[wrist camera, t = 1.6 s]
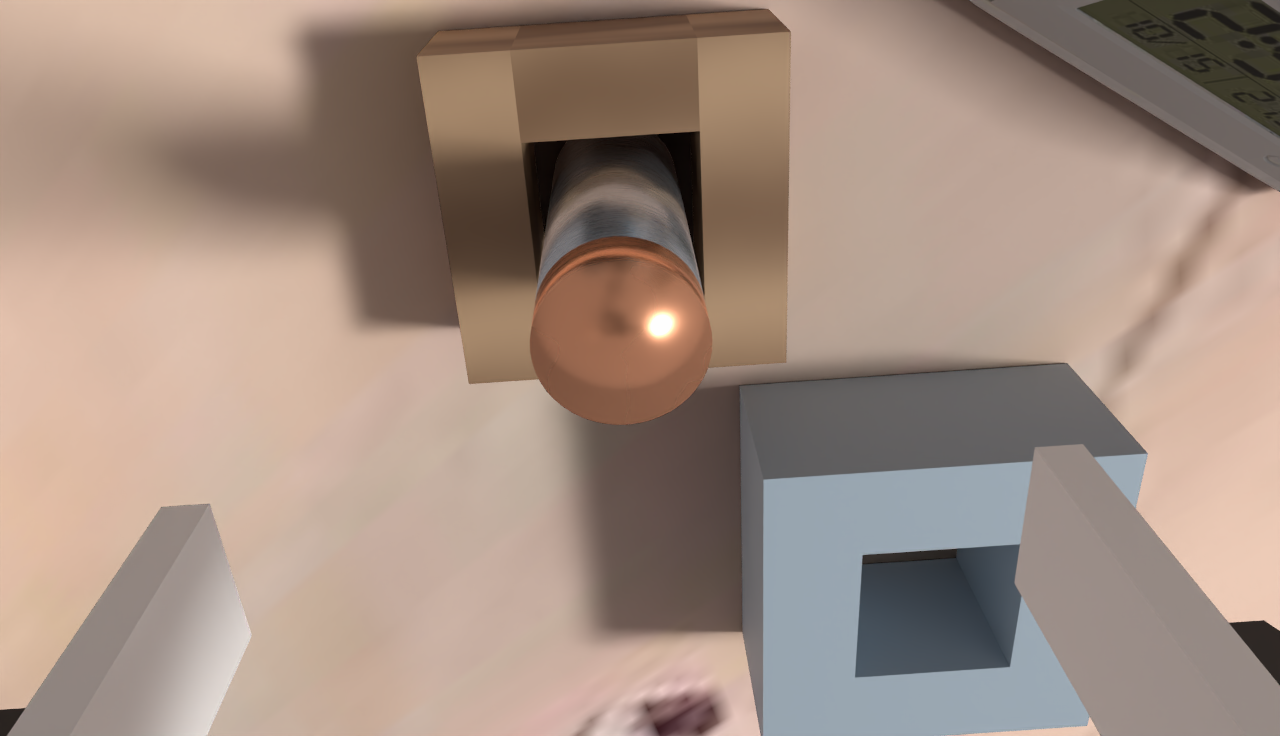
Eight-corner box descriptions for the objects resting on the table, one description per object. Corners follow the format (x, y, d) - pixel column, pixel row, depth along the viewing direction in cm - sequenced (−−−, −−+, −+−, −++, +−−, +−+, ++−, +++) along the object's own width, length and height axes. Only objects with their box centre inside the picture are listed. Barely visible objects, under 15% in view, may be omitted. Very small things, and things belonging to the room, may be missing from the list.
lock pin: (547, 123, 31) (519, 268, 21) (673, 114, 31) (710, 255, 21) (559, 241, 33) (539, 430, 22) (678, 233, 33) (714, 418, 22)
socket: (740, 385, 36) (763, 479, 31) (1067, 363, 36) (1147, 453, 31) (742, 632, 42) (763, 747, 36) (1025, 613, 42) (1087, 725, 36)
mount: (438, 31, 30) (416, 56, 26) (768, 8, 30) (790, 31, 26) (482, 328, 34) (469, 383, 31) (767, 309, 34) (786, 362, 31)
